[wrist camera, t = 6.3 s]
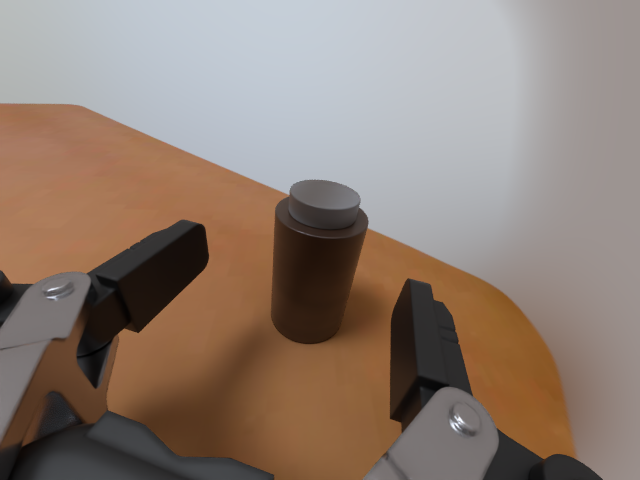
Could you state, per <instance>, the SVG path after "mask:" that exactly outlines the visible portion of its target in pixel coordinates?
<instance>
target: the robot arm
mask: <svg viewBox="0 0 640 480" xmlns="http://www.w3.org/2000/svg"><path fill="white" fill-rule="evenodd" d="M208 259H209V253H208V245H207V238H206V231H205V227H204V226H203V225H202V224H199V223H195V222H191V221H188V220H180V221H178V222H177V223H175V224H174V225H172V226H171V227H169V228H167V229H164V230H161V231H158V232H155V233H152V234H151V235H149V236H147V237H146V238H144V239H143V240H141V241H140V243H139V242H138V243H136V244H134V245H133V246H131V247H130V249H126V250H125V251H123V252H121V253H120V254H118V255H116V256H115V257H113V258H111V259H110V260H108V261H107V262H105V263H103V264H102V265H100V266H98V267H97V268H95V269H93V270H92V271H90V272H88V273H87V274H85V273H82V272H66V273H60V274H56V275H53V276H50V277H47V278H45V279H43V280H41V281H39V282H37V283H35V284H11V283H10V281H9V280H8V278H7V277H6V276H5V274H4V273H3V272H2V271H1V270H0V480H274V475H273V474H270V473H268V472H265V471H262V470H260V469H257V468H255V467H252V466H250V465H247V464H244V463H242V462H239V461H237V460H234V459H232V458H214V457H182V456H178V455H176V454H175V453H173V452H172V451H171V450H170V449H169V448H168V447H167V446H166V445H165V444H164V443H163V442H162V441H161V440H160V439H159V438H158V437H157V436H156V435H155V434H154V433H153V432H152V431H151V430H150V429H149V428H148V427H147V426H146V425H144V424H142V423H139V422H136V421H134V420H131V419H129V418H126V417H124V416H121V415H118V414H116V413H113V412H111V411H108V407H107V400H106V398H107V390H108V386H109V381H110V377H111V373H112V369H113V364H114V360H115V356H116V352H117V347H118V343H119V336H118V333H119V332H120V331H122V330H123V329H124V328H125V329H128V330H131V331H134V332H137V333H139V332H140V331H141V330H142V329H143V328H144V327H145V326H146V325H147V324H148V323H149V322H150V321H151V320H152V319H153V318H154V317H155V316H156V315H158V314H159V313H160V312H161V311H162V310H163V309H164V308H165V307H166V306H167V305H168V304H169V303H170V302H171V301H172V300H173V299H174V298H175V297H176V296H177V295H178V294H179V293H180V292H181V291H182V290H183V289H184V288H185V287H186V286H187V285H188V284H190V283H191V282H192V281H193V280H194V279H195V278H196V277H197V276H198V275H199V274H200V273H201V272H202V271H203V270H204V269H205V267H206V265H207V263H208ZM455 330H456V329H455V325H454V321H453V317H452V315H451V314H450V312H449V311H448V309H447V308H446V306H445V305H444V304H443V302H439V301H435V300H434V299H433V294H432V288H431V285H430V284H428V283H424V282H420V281H417V280H413V279H409V278H408V279H407V280H406V282H405V284H404V286H403V288H402V291H401V293H400V295H399V298H398V300H397V302H396V305H395V307H394V310H393V313H392V318H391V360H390V419H392V420H395V421H398V422H401V424H402V434H401V435H400V436H399V438H398V439H397V440H396V441H395V442H394V444H393V445H392V446H391V447H390V448H389V449H388V451H387V452H386V453H385V454H384V455H383V456H382V457H381V458H380V459H379V460H378V462H377V463H376V464H375V465H374V466H373V467H372V469H371V470H370V471H369V472H368V473H367V475H366V476H365V477H364V478H363V479H362V480H603V479H602V478H601V477H599V476H598V475H597V474H596V473H595V472H594V471H592V470H591V469H590V468H589V467H587V466H586V465H584V464H583V463H581V462H580V461H578V460H576V459H574V458H572V457H570V456H566V455H562V454H554V455H552V456H550V457H548V458H546V459H542V458H541V457H539V456H538V455H536V454H535V453H533V452H531V451H530V450H528V449H527V448H525V447H524V446H522V445H520V444H519V443H517V442H516V441H514V440H513V439H511V438H509V437H508V436H506V435H505V434H504V433H502V432H501V431H500V430H498V429H497V428H496V426H495V424H494V421H493V420H492V418H491V416H490V414H489V413H488V412H487V410H486V409H485V408H484V407H483V405H482V404H481V403H480V402H479V401H478V400H476V399H475V398H474V397H473V394H472V391H471V388H470V384H469V380H468V376H467V372H466V368H465V364H464V360H463V356H462V353H461V349H460V345H459V344H458V342H459V341H458V337H457V333H456V332H455Z"/></svg>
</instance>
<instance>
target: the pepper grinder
mask: <svg viewBox="0 0 640 480" xmlns="http://www.w3.org/2000/svg"><path fill="white" fill-rule="evenodd" d="M359 205H360V196H359V195H358V193H357V192H355V191H354V190H353V189H351V188H349V187H347V186H345V185H342V184H339V183H335V182H331V181H325V180H305V181H300V182H297V183H295V184H293V186H291V188H290V195H289V197H287V198H284V199H283V200H281V201H280V202H279V203H278V204H277V206H276V208H275V227H274V252H273V277H272V301H271V317H272V321H273V323H274V325H275V327H276V328H277V329H278V331H279V332H280V333H281V334H283V335H284V336H285V337H287V338H289V339H291V340H293V341H296V342H300V343H317V342H321V341H324V340H326V339H328V338H330V337H331V336H333V335H334V334H335V333H336V332H337V330H338V329H339V327H340V325H341V322H342V318H343V315H344V311H345V307H346V304H347V300H348V296H349V293H350V289H351V285H352V282H353V278H354V275H355V271H356V267H357V264H358V260H359V256H360V253H361V249H362V245H363V242H364V238H365V235H366V231H367V227H368V217H367V215H366V214H365V213H364V211H363V210H362V209H360V208H359Z"/></svg>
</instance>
